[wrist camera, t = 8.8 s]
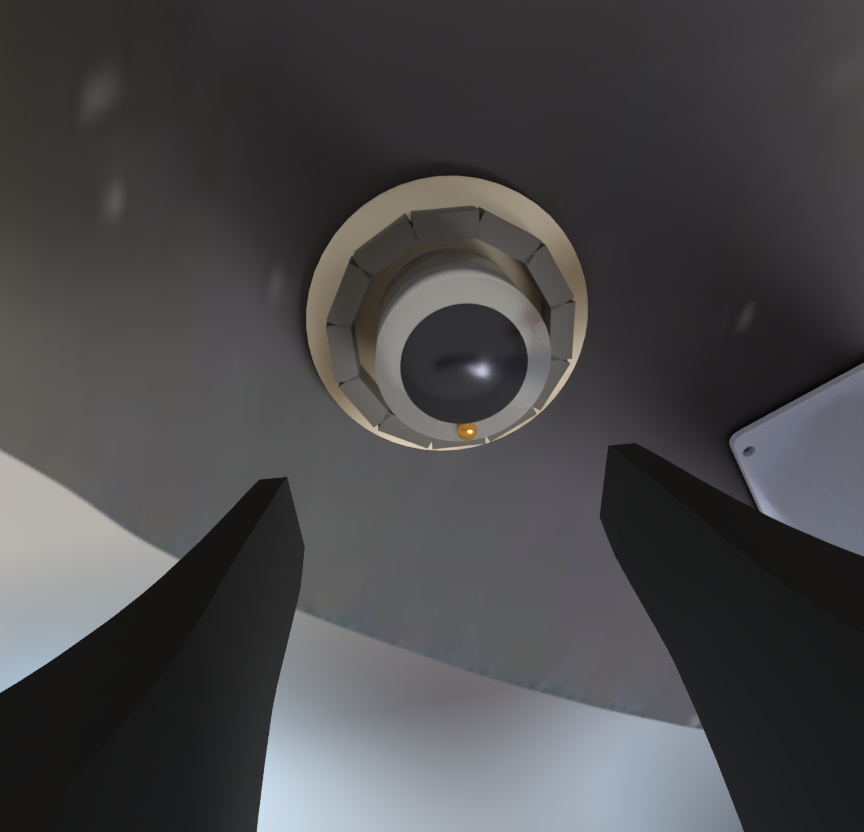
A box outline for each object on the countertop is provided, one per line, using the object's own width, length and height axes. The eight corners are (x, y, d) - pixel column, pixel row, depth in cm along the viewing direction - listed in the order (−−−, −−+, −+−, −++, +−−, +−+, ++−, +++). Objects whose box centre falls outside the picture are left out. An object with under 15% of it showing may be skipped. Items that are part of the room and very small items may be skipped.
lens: (520, 241, 17) (556, 269, 13) (518, 379, 19) (549, 435, 15) (369, 255, 16) (363, 287, 13) (386, 392, 19) (385, 451, 15)
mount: (625, 354, 20) (646, 373, 18) (415, 482, 22) (416, 509, 20) (494, 103, 15) (506, 99, 14) (247, 294, 17) (233, 309, 16)
